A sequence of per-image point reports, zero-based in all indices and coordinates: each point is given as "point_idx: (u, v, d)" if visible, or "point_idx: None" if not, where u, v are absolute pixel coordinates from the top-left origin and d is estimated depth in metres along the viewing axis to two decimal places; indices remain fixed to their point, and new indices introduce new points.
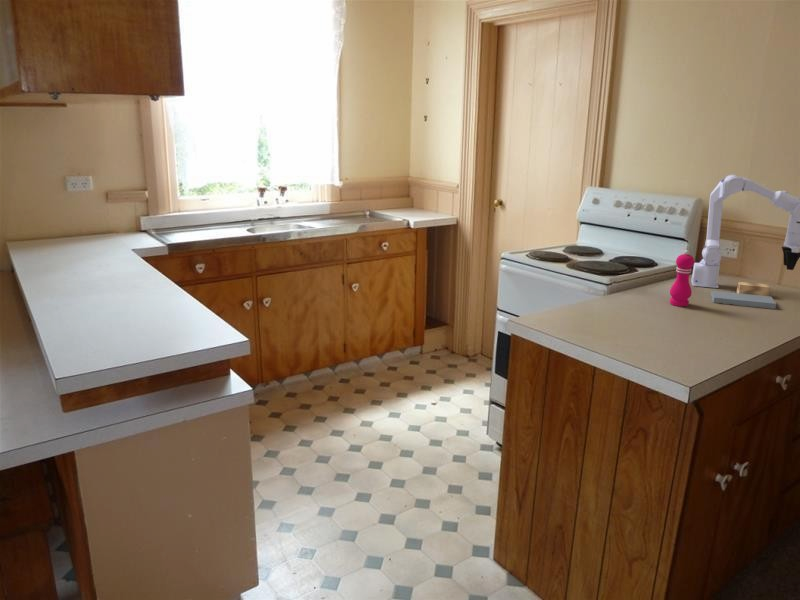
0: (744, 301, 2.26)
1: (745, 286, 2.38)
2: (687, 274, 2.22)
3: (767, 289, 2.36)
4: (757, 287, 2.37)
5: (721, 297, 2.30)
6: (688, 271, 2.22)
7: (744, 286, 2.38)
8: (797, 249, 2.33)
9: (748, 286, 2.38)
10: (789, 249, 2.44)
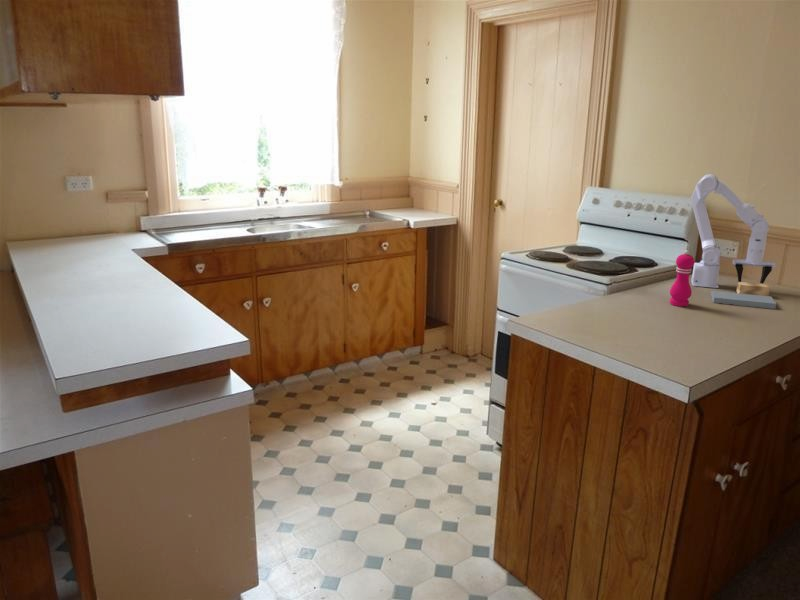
0: (744, 301, 2.26)
1: (745, 286, 2.38)
2: (687, 274, 2.22)
3: (767, 289, 2.36)
4: (757, 287, 2.37)
5: (721, 297, 2.30)
6: (688, 271, 2.22)
7: (744, 286, 2.38)
8: (733, 261, 2.46)
9: (748, 286, 2.38)
10: (763, 268, 2.44)
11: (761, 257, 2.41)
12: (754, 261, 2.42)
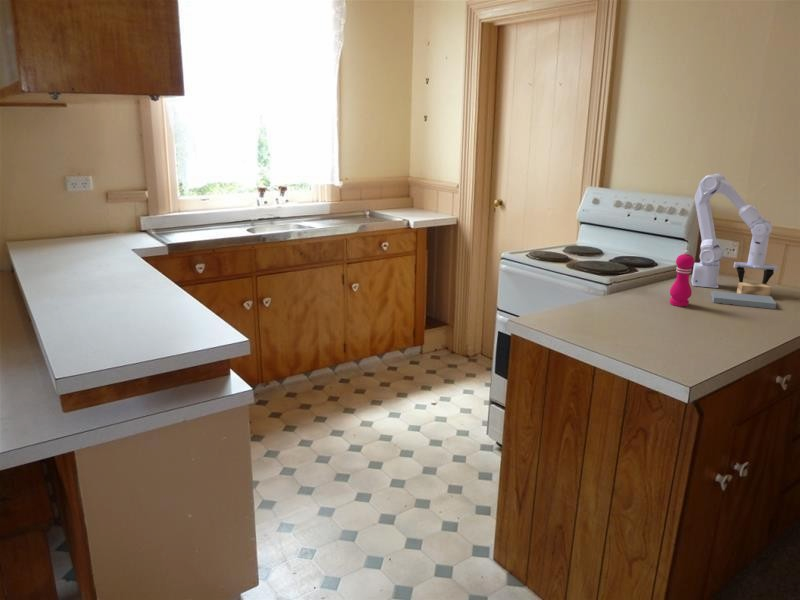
0: (744, 301, 2.26)
1: (747, 287, 2.37)
2: (687, 274, 2.22)
3: (769, 289, 2.35)
4: (759, 287, 2.36)
5: (721, 297, 2.30)
6: (688, 271, 2.22)
7: (746, 287, 2.37)
8: (734, 264, 2.42)
9: (750, 287, 2.36)
10: (765, 272, 2.40)
11: (763, 260, 2.37)
12: (756, 264, 2.38)
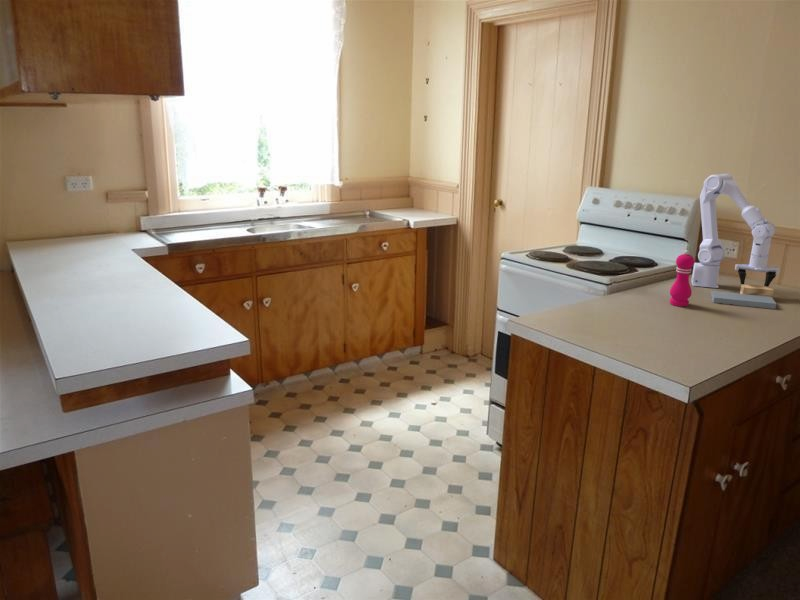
0: (744, 301, 2.26)
1: (749, 289, 2.34)
2: (687, 274, 2.22)
3: (771, 292, 2.32)
4: (761, 290, 2.33)
5: (721, 297, 2.30)
6: (688, 271, 2.22)
7: (748, 289, 2.34)
8: (736, 266, 2.39)
9: (752, 289, 2.33)
10: (767, 274, 2.37)
11: (765, 262, 2.34)
12: (757, 266, 2.34)
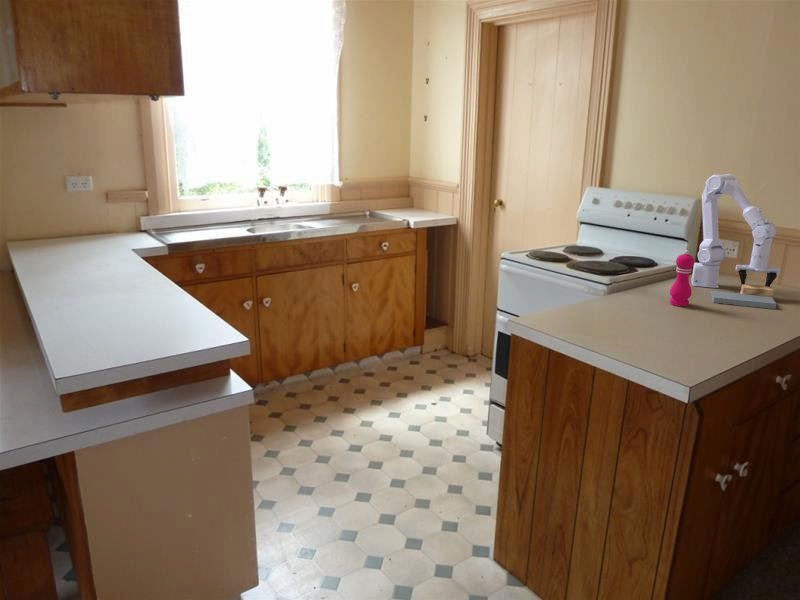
0: (744, 301, 2.26)
1: (749, 289, 2.34)
2: (687, 274, 2.22)
3: (771, 292, 2.31)
4: (761, 290, 2.32)
5: (721, 297, 2.30)
6: (688, 271, 2.22)
7: (748, 289, 2.34)
8: (736, 267, 2.38)
9: (752, 289, 2.33)
10: (768, 275, 2.36)
11: (765, 263, 2.33)
12: (758, 267, 2.33)
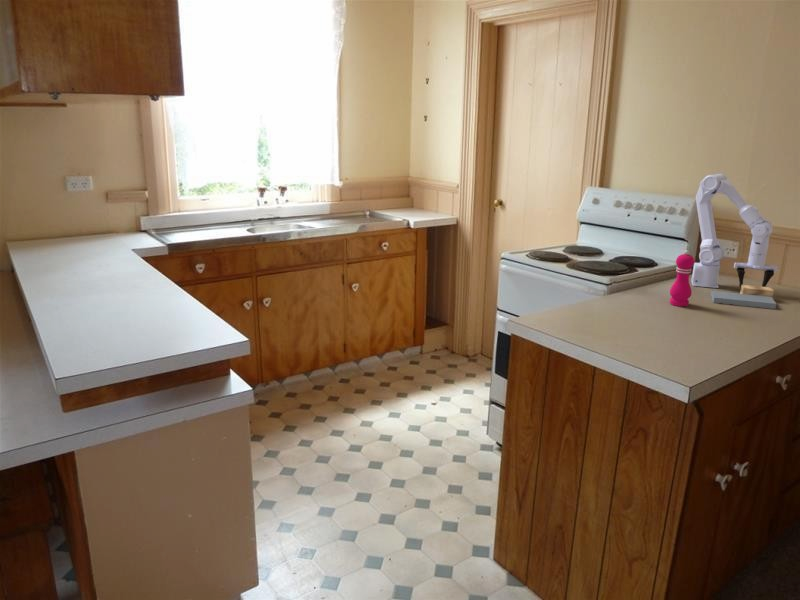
0: (744, 301, 2.26)
1: (749, 289, 2.34)
2: (687, 274, 2.22)
3: (771, 292, 2.31)
4: (761, 290, 2.32)
5: (721, 297, 2.30)
6: (688, 271, 2.22)
7: (747, 289, 2.34)
8: (734, 265, 2.42)
9: (752, 289, 2.33)
10: (765, 272, 2.39)
11: (763, 261, 2.37)
12: (756, 265, 2.37)
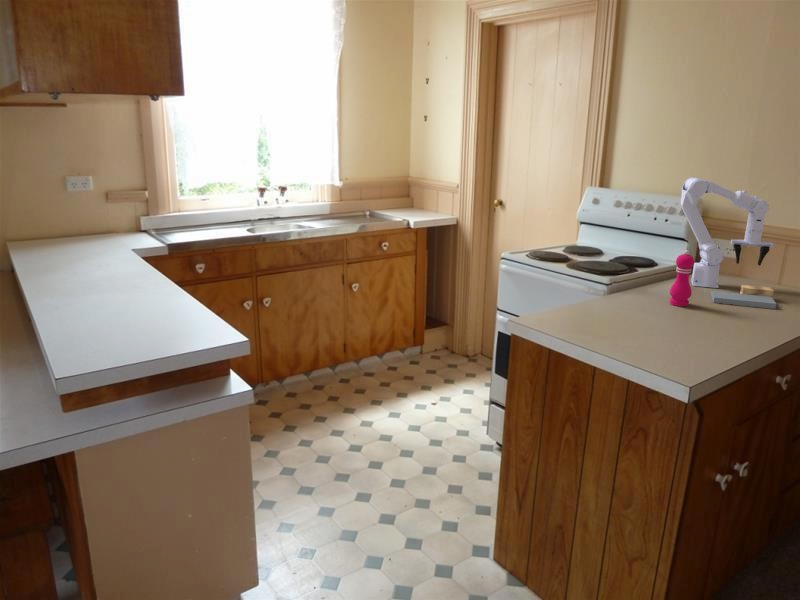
0: (744, 301, 2.26)
1: (748, 289, 2.34)
2: (687, 274, 2.22)
3: (771, 292, 2.31)
4: (761, 290, 2.32)
5: (721, 297, 2.30)
6: (688, 271, 2.22)
7: (747, 289, 2.34)
8: (731, 241, 2.49)
9: (751, 289, 2.33)
10: (761, 249, 2.47)
11: (759, 237, 2.44)
12: (752, 241, 2.44)
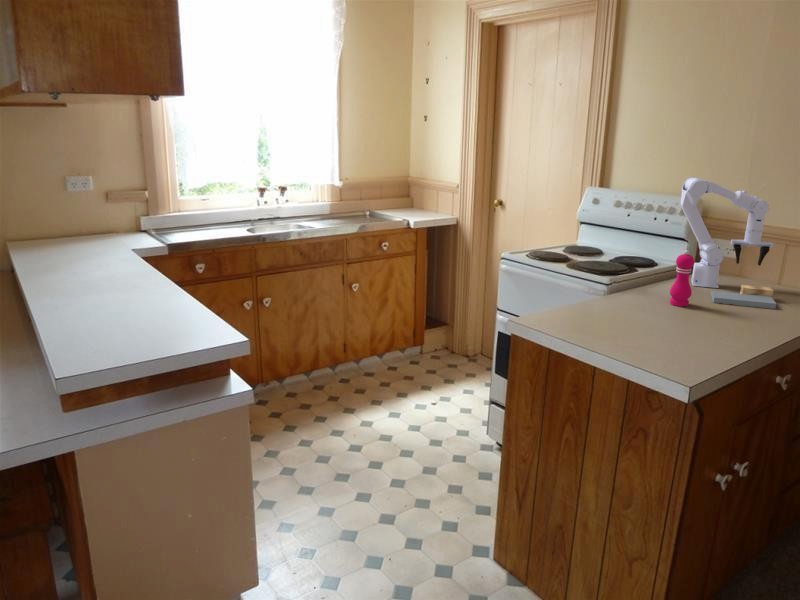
0: (744, 301, 2.26)
1: (748, 289, 2.34)
2: (687, 274, 2.22)
3: (771, 292, 2.31)
4: (761, 290, 2.32)
5: (721, 297, 2.30)
6: (688, 271, 2.22)
7: (747, 289, 2.34)
8: (731, 241, 2.49)
9: (751, 289, 2.33)
10: (761, 249, 2.47)
11: (759, 237, 2.44)
12: (752, 241, 2.44)
